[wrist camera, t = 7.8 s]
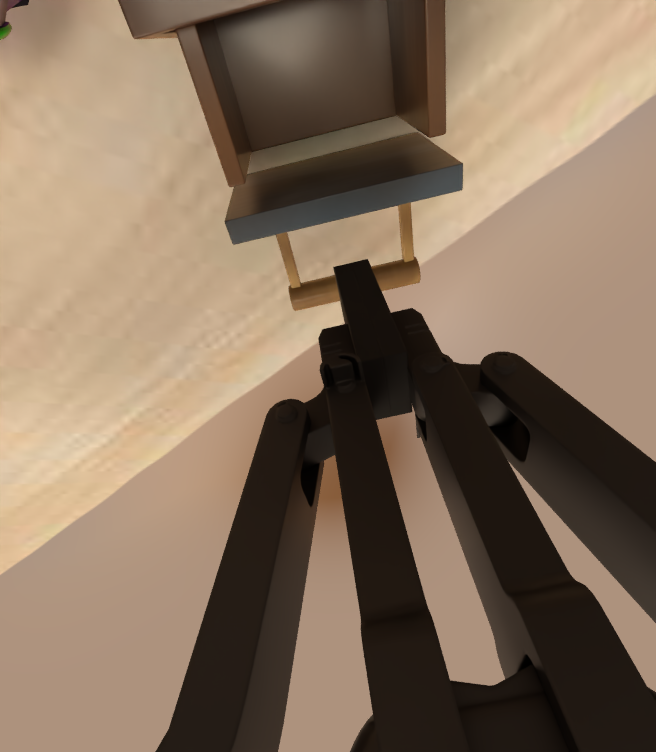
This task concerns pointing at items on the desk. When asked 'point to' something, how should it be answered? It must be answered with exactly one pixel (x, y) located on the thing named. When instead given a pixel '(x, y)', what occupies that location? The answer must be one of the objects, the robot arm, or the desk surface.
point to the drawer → (325, 117)
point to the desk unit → (178, 14)
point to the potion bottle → (1, 3)
